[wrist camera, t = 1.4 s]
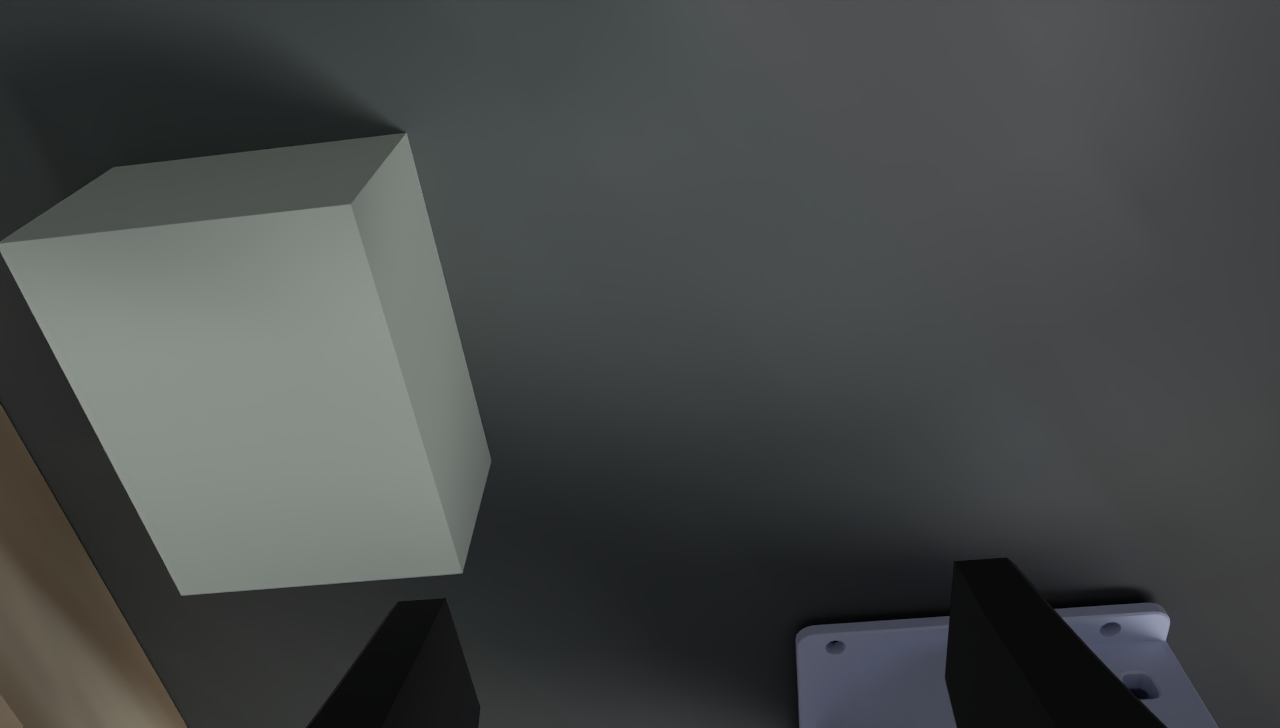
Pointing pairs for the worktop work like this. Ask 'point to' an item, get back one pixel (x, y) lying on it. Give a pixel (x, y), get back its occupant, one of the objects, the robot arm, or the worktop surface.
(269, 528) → the sage block
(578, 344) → the worktop surface
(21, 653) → the birch board
